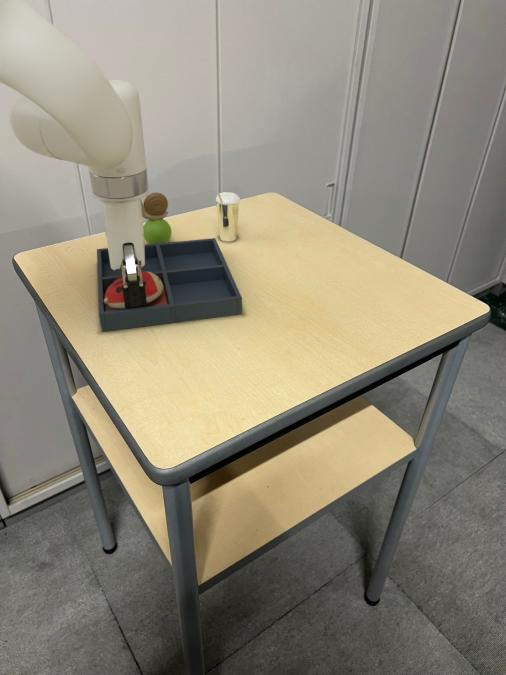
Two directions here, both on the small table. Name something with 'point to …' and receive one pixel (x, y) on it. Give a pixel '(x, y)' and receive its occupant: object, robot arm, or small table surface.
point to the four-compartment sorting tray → (174, 286)
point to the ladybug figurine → (115, 291)
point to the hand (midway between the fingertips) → (134, 293)
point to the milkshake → (227, 215)
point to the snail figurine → (156, 219)
